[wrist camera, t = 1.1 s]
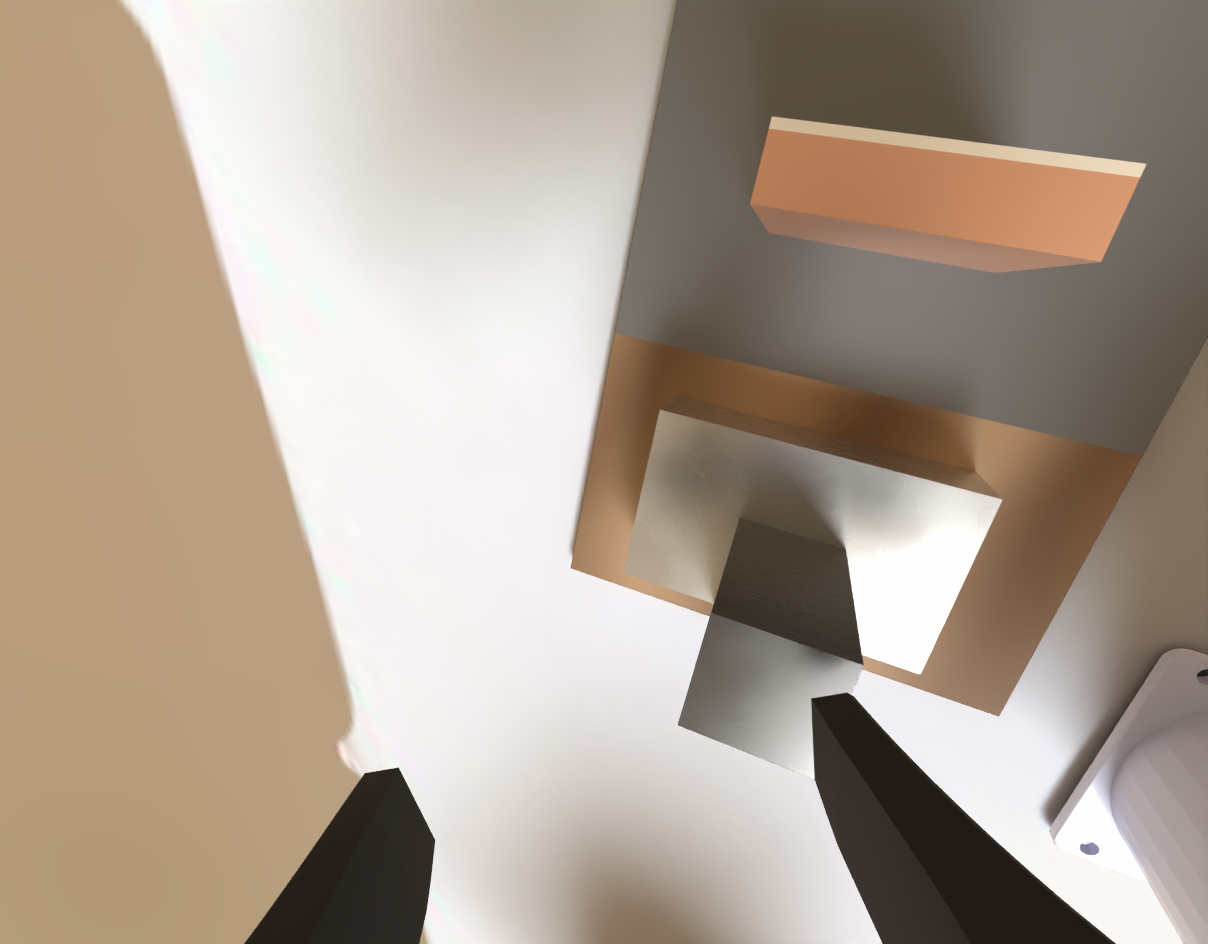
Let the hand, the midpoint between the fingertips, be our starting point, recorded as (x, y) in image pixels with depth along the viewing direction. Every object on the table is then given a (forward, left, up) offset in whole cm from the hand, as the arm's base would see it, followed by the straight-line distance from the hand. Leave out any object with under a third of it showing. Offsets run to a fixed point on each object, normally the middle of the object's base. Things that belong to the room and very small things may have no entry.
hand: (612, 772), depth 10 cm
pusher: (-2, -2, -11) cm, 11 cm away
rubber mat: (-3, -12, -11) cm, 17 cm away
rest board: (-3, -1, -11) cm, 12 cm away
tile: (-2, -10, -11) cm, 15 cm away
